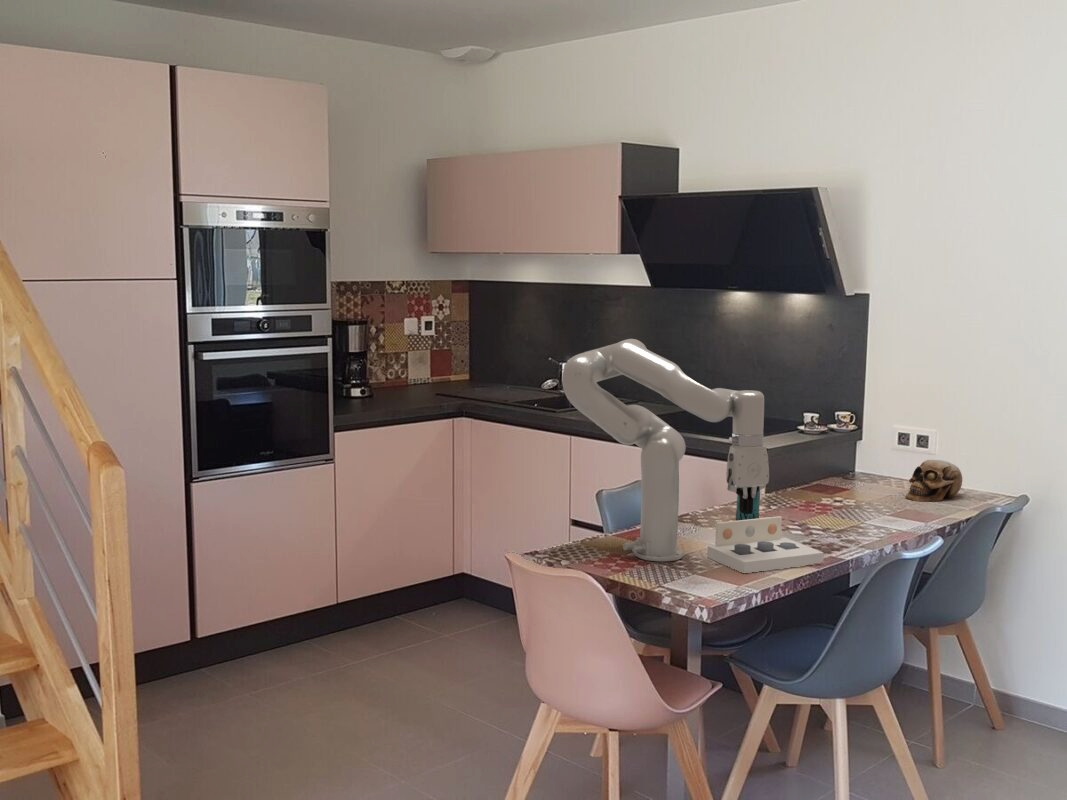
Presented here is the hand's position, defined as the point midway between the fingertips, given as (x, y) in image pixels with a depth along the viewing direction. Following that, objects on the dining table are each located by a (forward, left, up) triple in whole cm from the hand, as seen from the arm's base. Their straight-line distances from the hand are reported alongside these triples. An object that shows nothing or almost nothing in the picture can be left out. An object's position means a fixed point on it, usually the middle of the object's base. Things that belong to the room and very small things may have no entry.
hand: (746, 512), depth 268 cm
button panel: (+7, 0, -13) cm, 15 cm away
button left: (0, 0, -12) cm, 12 cm away
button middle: (+7, 0, -12) cm, 13 cm away
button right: (+14, 0, -12) cm, 18 cm away
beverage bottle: (+20, +26, -13) cm, 35 cm away
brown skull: (+104, +42, -13) cm, 113 cm away
